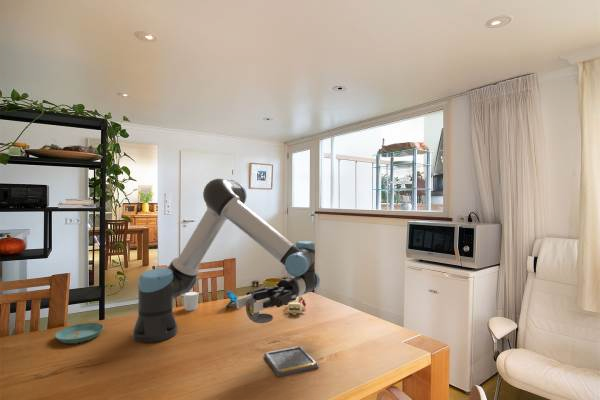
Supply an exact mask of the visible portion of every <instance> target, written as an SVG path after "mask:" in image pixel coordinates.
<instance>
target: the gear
mask: <svg viewBox="0 0 600 400" xmlns="http://www.w3.org/2000/svg"><path fill="white" fill-rule="evenodd" d="M225 295H226V296H227V298H228V299H230V301H229V302H228V303H227V304H226V305H225V306H226V308H228V307H229V306H231V304H233V305H234V306H236V307H237V299H239V297H238V295H237V294H235V293H234V292H232V291H231V290H227V291H226V294H225Z"/></svg>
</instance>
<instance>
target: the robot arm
mask: <svg viewBox="0 0 600 400" xmlns="http://www.w3.org/2000/svg"><path fill="white" fill-rule="evenodd" d="M202 197H203V200H204V202H205V205H206V211H205V212H204V214H203V216H202V218H201V219H200V220H199V222H198V224H197V225H196V228H195V229H194V231H193V233H192V234H191V235H190V238H189V239H188V241H187V242H186V244H185V246H184V248H183V249H182V251H181V253H180V254H179V256H178V257H175V258H173V259H172V260H171V262H170V263H169V265H168V268H167V267H166V268H165V267H160V268H155V269H149V270H147V271H144V272H143V273H141V274H140V275H139V278H138V285H137V288H138V289H137V290H138V303H137V304H138V305H137V306H138V307H137V309H138V311H137V312H138V313H137V315H138V316H137V319H136V321H135V323H134V327H133V329H132V340H133V341H135V342H138V343H144V344H148V343H149V344H151V343H158V342H162V341H165V340H170V339H171V338H173V337H174V336H176V334H177V333H178V324H177V320H176V318H175V316H174V311H173V300H174V299H176V298H178V297H179V296H182V295H183V294H185V293H187V292H191V290H192V289H193V288H194V287H195V285H196V284H197V280H198V274H199V272H200V271H199V265H200V264H201V262H202V261H203V259H204V257H205V256H206V254H207V252H208V251H209V249H210V247H211V245H212V244H213V243H214V241H215V239H216V238H217V236H218V234H219V233H220V231H221V229H222V227H223V226H224V224H225V222H226V221H227V220H229V221H230V222H231V223H232V224H233V225H235V226H236V227H237V228H238V229H239V230H240V231H242V232H243V233H244V234H246V235H247V236H248V237H249V238H251V240H253V241H254V242H255V243H257V245H259V246H260V247H262V248H263V249H264V250H265V251H267V252H268V253H269V254H270V255H271V256H272V257H274V258H275V259H276V260H277V261H278V262H280V263H281V264H282V265H283V266H284V268H285V271H286V272H287V273H288V274H289V275H290V276H288V277H287V278H284V279H283V278H282V279H283V280H281V281H279V282H278V284H277V285H276V286H274V287H272V288H267V286H264V287H263V286H261V287H259V288H255V289H253V290H252V291H253V292H254V296H253V298H254V299H255V300H256V302H255V303H254V313H257V312H259V313H260V312H261V311H263V310H265V309H266V310H267V309H268V308H270V307H271V308H273V307H276V308H281V307H283V306H285V304H287V303H288V302H289V303H290V302H292V301H293V300H296V298H297V297H299V296H301V297H302V296H303V295H305V294H308V293H311V292H313V291H314V290H316V289H317V288H319V286H320V282H321V280H320V277H319V274H318V273H317V272H316V245H315V243H314V241H309V240H299V241H296V243H295V245H294V243H292V242H291V241H290V240H289V239H287V238H286V237H285V236H284V235H283V234H281V233H280V232H279V231H277V230H276V229H275V228H273V227H272V226H271V225H270V224H269V223H267V222H266V221H265V220H264V219H263V218H262V217H260V216H259V215H258V214H256V213H255V212H254V211H252V210H251V209H250V208H249V207H248V206H247V205H245V203H246V201H247V197H248V196H247V191H246V188H245V187H244V186H243V185H242V183H240V182H238V181H236V180H233V179H223V178H215V179H212V180H210V181H209V182H207V183H206V185H205V186H204V189H203V192H202ZM252 291H250V290H248V291H247V292H246V295H244V296H242V297H238V299H237V305H236V309H240V308H243V307H246V302H247V300H248V299H249V298H252V296H251V294H252V293H253V292H252ZM250 292H251V294H250ZM289 303H288V304H289Z"/></svg>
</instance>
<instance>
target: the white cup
mask: <svg viewBox="0 0 600 400" xmlns="http://www.w3.org/2000/svg"><path fill="white" fill-rule="evenodd" d="M199 294H200V292H198V291H188V292H187V293H185V294H182V295H183V305H184V306H183V307H184V311H190V312H191V311H192V312H193V311H196V310H197V309H198V304H199Z"/></svg>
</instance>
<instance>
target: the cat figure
mask: <svg viewBox="0 0 600 400" xmlns="http://www.w3.org/2000/svg"><path fill="white" fill-rule="evenodd" d="M301 300H302V301H301ZM300 301H301V303H300ZM306 306H307V303H306V301H305V299H304V298H303V296H302V295H301V296H299V297H297V298H296V300H293V301H290V302H288V303H287V304H285V305H284V310H285V311H286V310H287V313H289V314H292V315H293V316H296V315H297V314H300V313H302V311H304V310H306Z"/></svg>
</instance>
